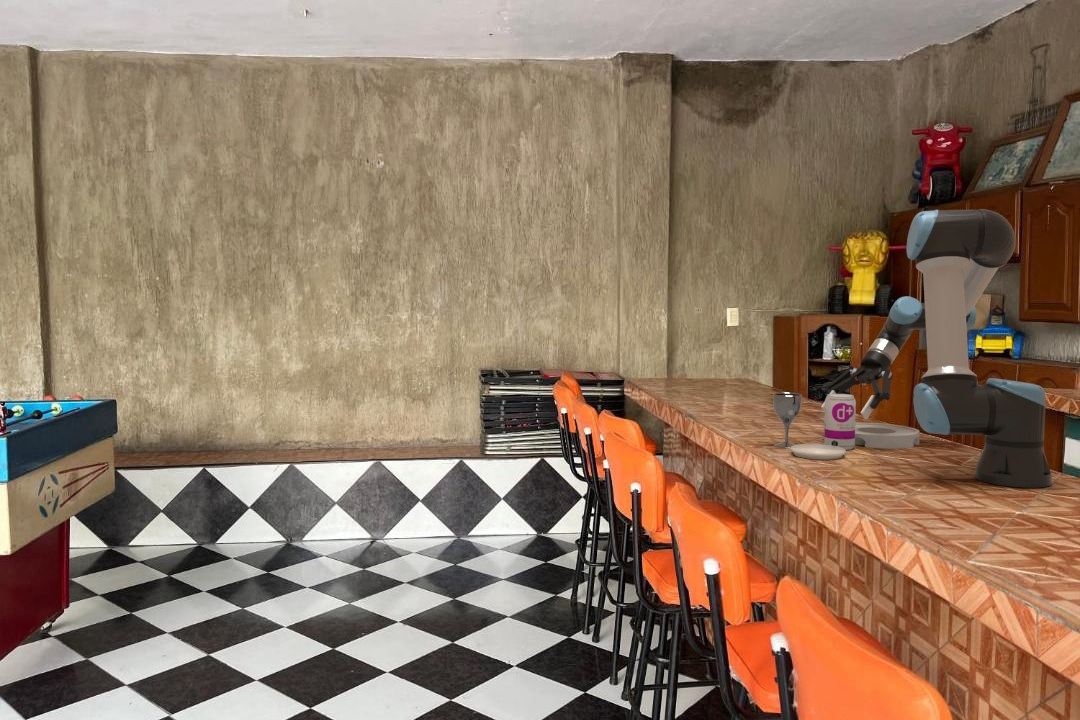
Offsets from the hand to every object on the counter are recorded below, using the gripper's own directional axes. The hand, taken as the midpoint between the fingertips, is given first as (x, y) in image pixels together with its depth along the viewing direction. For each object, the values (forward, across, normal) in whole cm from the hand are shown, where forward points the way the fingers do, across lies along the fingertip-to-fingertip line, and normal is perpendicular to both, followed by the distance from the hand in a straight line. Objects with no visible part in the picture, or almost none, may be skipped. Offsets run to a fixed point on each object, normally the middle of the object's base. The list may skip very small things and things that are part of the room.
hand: (843, 413), depth 226 cm
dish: (+18, -5, +5) cm, 19 cm away
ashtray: (-4, +1, -18) cm, 18 cm away
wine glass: (+16, +9, +2) cm, 18 cm away
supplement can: (+9, -1, -5) cm, 10 cm away
